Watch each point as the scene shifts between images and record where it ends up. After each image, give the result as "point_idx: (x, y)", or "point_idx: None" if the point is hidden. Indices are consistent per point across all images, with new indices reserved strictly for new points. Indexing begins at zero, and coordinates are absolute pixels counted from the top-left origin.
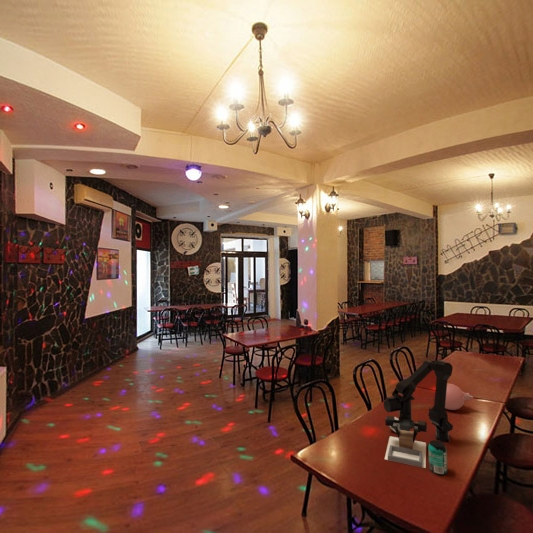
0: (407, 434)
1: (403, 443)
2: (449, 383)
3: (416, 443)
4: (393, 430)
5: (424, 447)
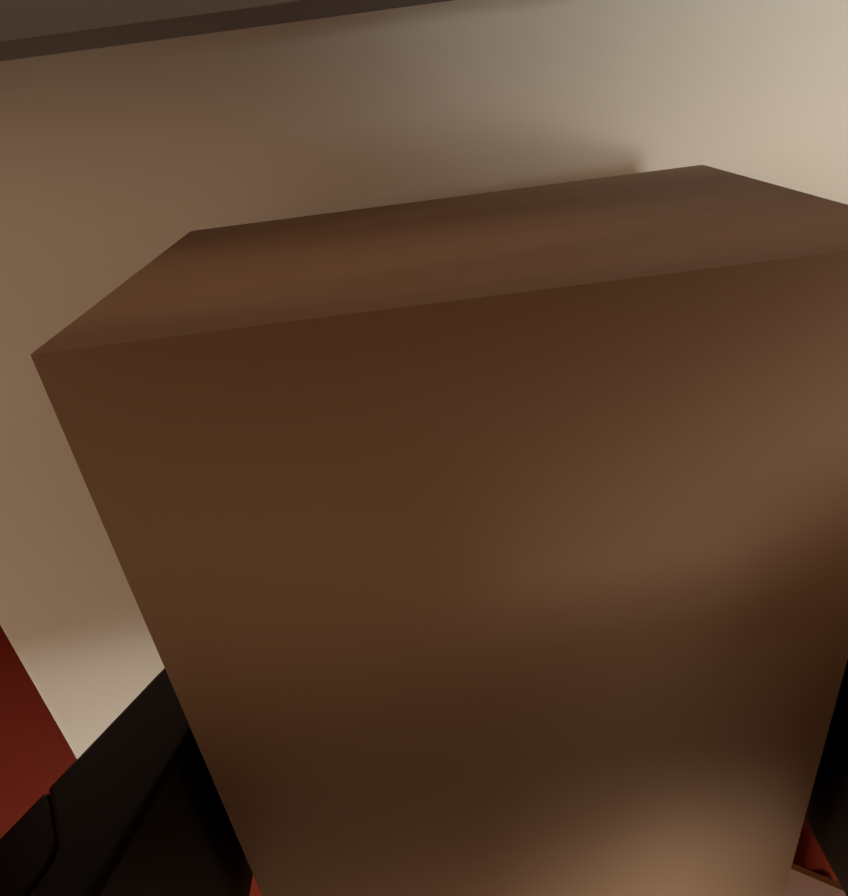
0: (478, 827)
1: (574, 221)
2: None
3: None
4: (829, 885)
5: (24, 602)
